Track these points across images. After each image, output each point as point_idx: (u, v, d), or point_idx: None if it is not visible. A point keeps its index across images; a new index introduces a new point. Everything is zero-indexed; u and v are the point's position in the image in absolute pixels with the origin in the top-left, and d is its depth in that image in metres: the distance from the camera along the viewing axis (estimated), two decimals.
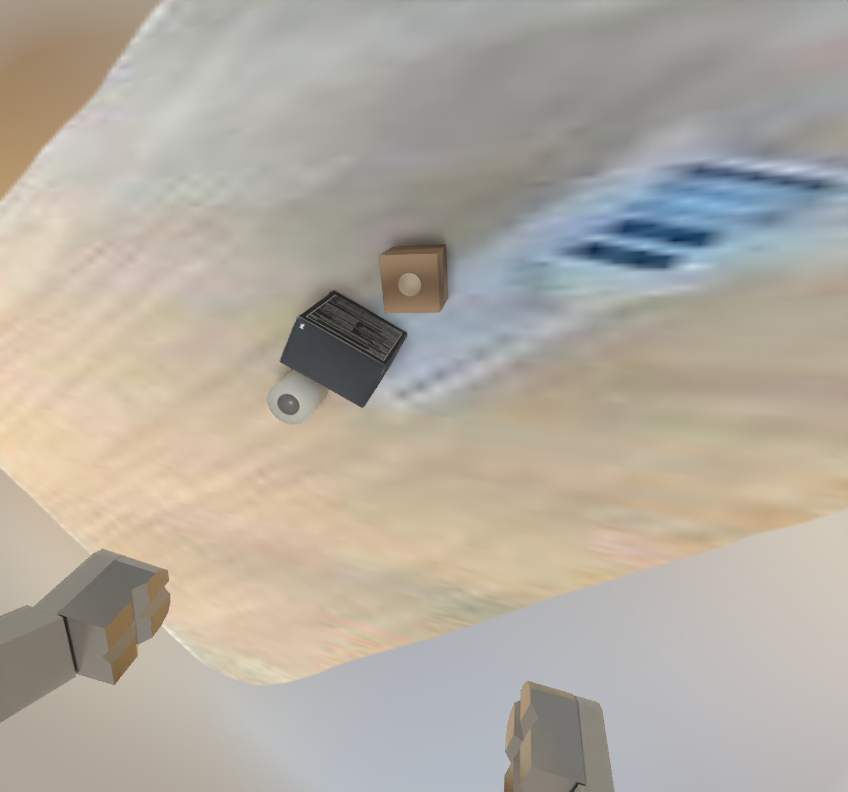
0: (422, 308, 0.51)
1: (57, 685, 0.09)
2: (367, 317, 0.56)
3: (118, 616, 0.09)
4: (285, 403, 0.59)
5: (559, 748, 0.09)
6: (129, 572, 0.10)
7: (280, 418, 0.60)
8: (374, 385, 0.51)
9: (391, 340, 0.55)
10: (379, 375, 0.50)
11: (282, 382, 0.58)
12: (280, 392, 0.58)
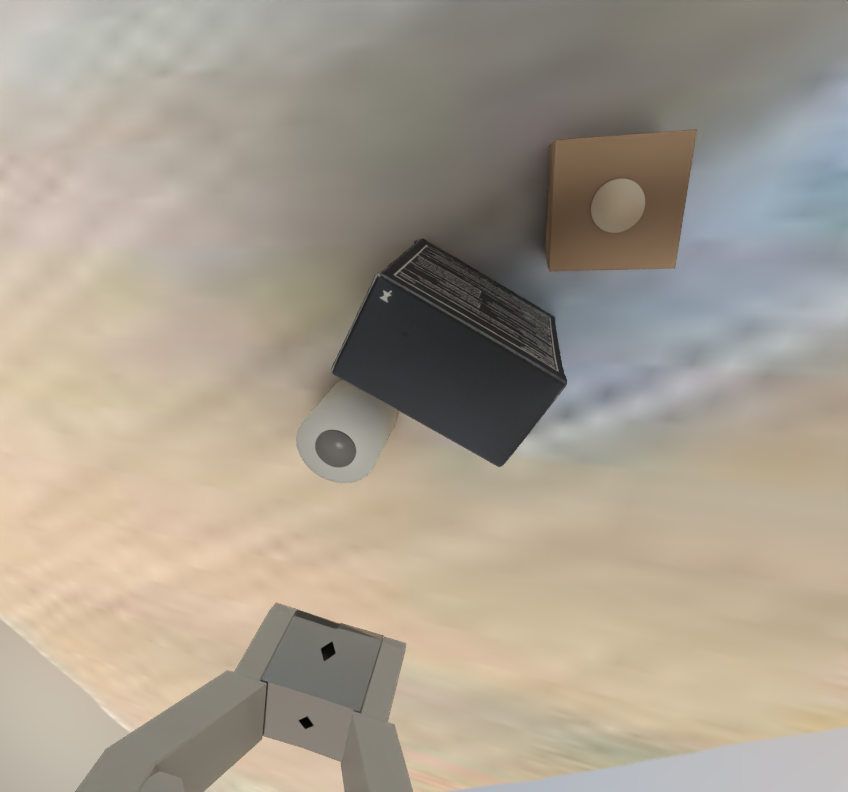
0: (636, 260, 0.24)
1: (248, 749, 0.09)
2: (489, 286, 0.30)
3: (315, 679, 0.09)
4: (330, 447, 0.32)
5: (346, 680, 0.09)
6: (312, 629, 0.10)
7: (319, 472, 0.33)
8: (534, 423, 0.24)
9: (544, 330, 0.28)
10: (549, 403, 0.23)
11: (325, 408, 0.31)
12: (322, 427, 0.32)
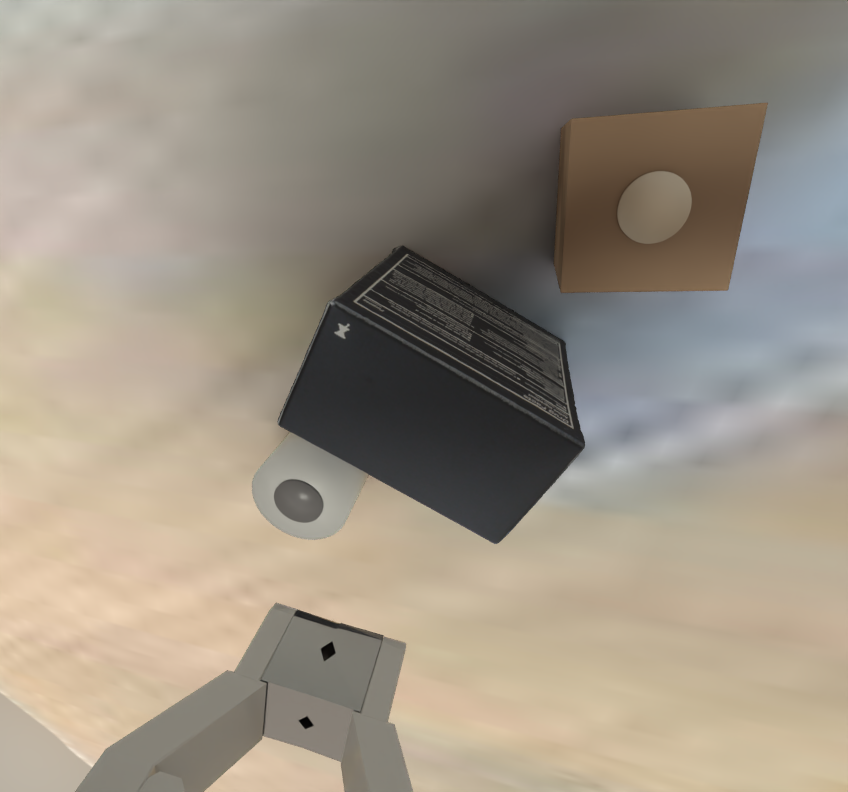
0: (676, 279, 0.18)
1: (248, 749, 0.09)
2: (485, 306, 0.24)
3: (315, 679, 0.09)
4: (292, 499, 0.26)
5: (346, 680, 0.09)
6: (312, 629, 0.10)
7: (281, 527, 0.28)
8: (540, 494, 0.18)
9: (553, 364, 0.22)
10: (561, 470, 0.18)
11: (285, 454, 0.26)
12: (281, 476, 0.26)
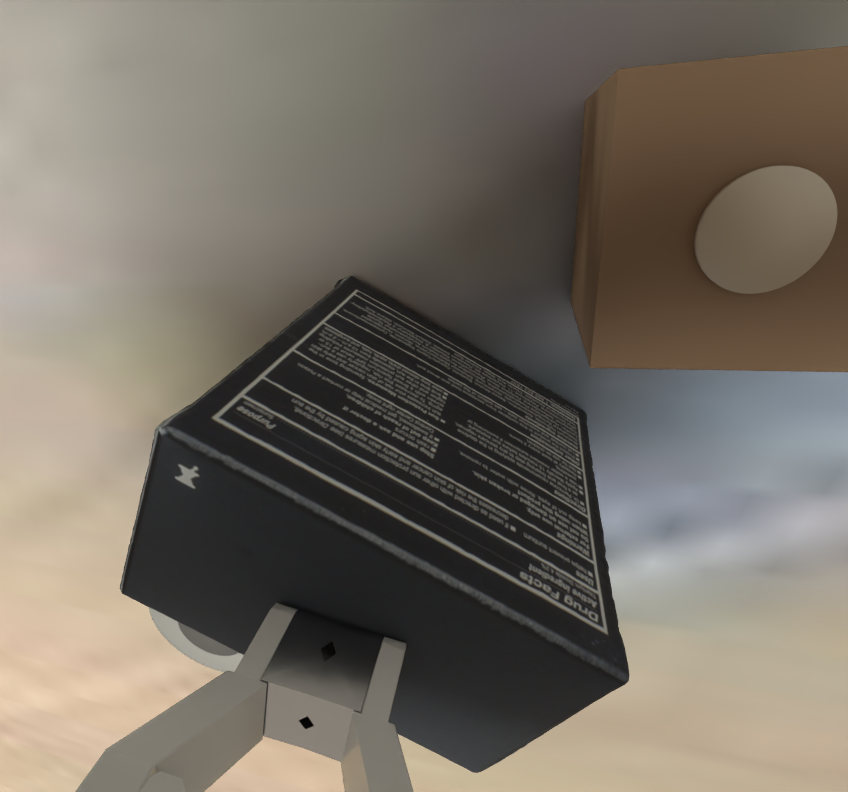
0: (791, 352, 0.11)
1: (249, 749, 0.09)
2: (469, 369, 0.16)
3: (315, 679, 0.09)
4: None
5: (346, 680, 0.09)
6: (312, 629, 0.10)
7: (193, 656, 0.20)
8: (548, 728, 0.11)
9: (570, 467, 0.14)
10: (585, 705, 0.10)
11: None
12: None
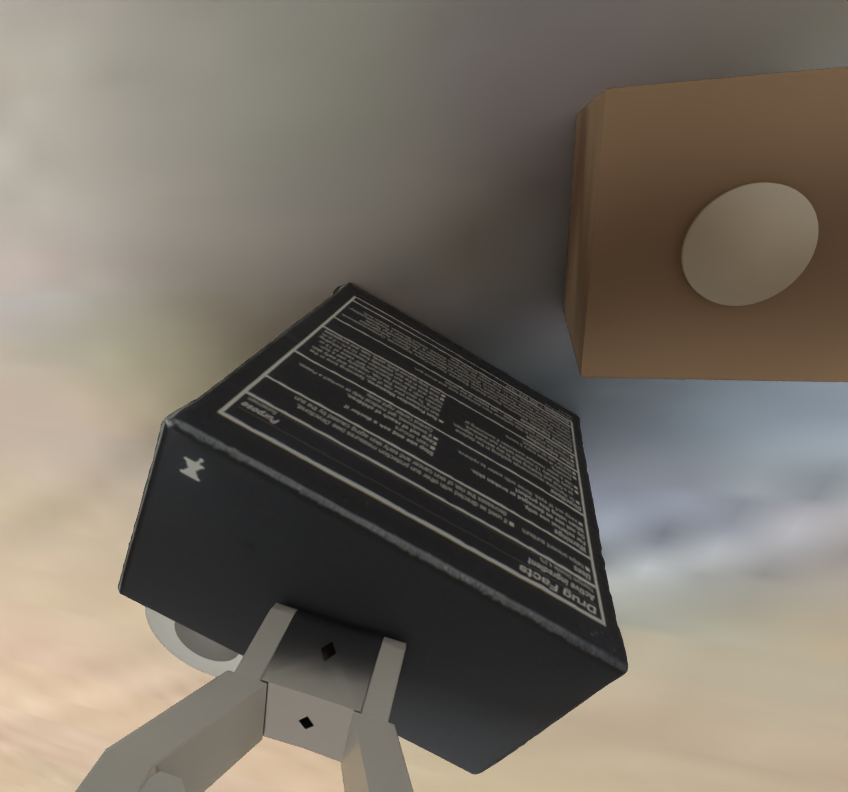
0: (776, 362, 0.11)
1: (248, 749, 0.09)
2: (465, 373, 0.16)
3: (315, 679, 0.09)
4: None
5: (346, 680, 0.09)
6: (312, 629, 0.10)
7: (190, 662, 0.20)
8: (548, 724, 0.11)
9: (565, 468, 0.15)
10: (584, 698, 0.10)
11: None
12: None
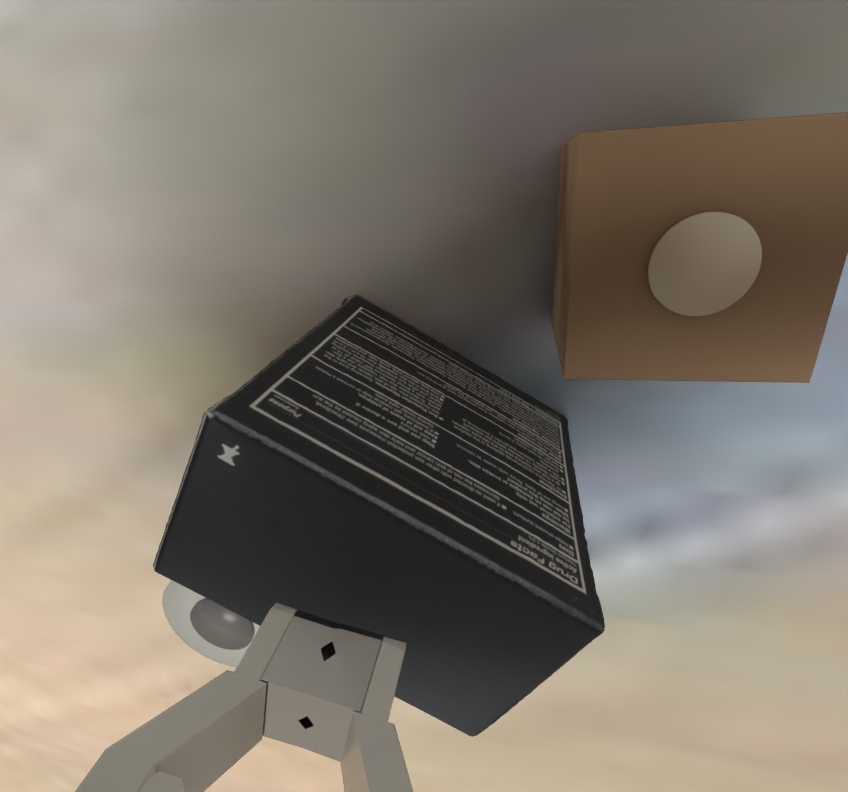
0: (732, 365, 0.12)
1: (248, 749, 0.09)
2: (462, 377, 0.18)
3: (315, 679, 0.09)
4: (213, 622, 0.20)
5: (346, 680, 0.09)
6: (312, 629, 0.10)
7: (203, 651, 0.21)
8: (536, 684, 0.12)
9: (553, 462, 0.16)
10: (568, 658, 0.12)
11: None
12: None
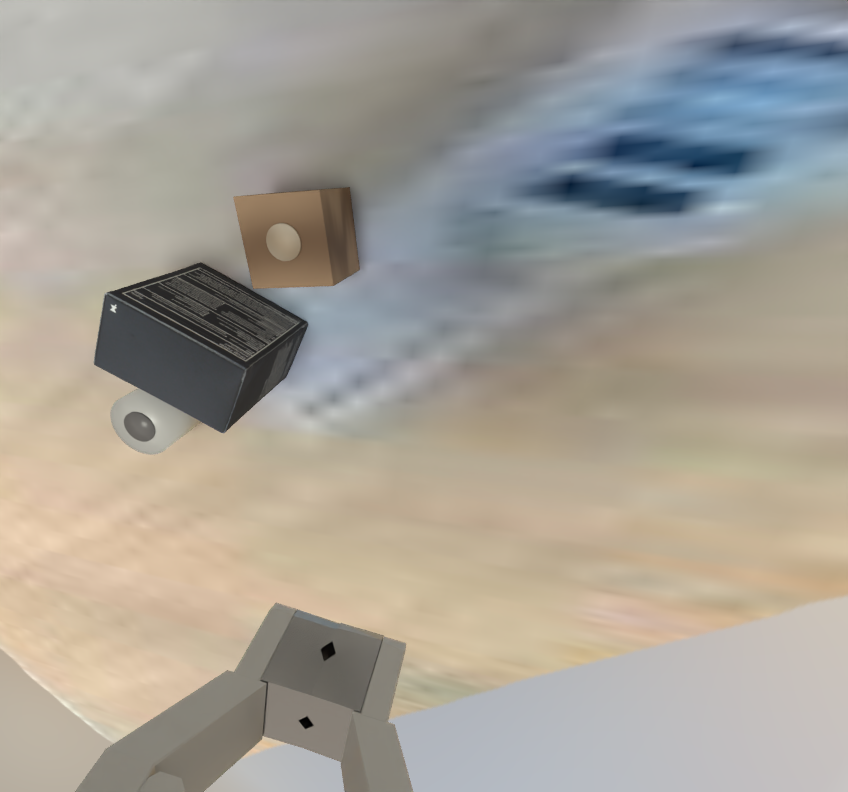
0: (307, 280, 0.33)
1: (248, 749, 0.09)
2: (244, 299, 0.39)
3: (315, 679, 0.09)
4: (135, 425, 0.41)
5: (346, 680, 0.09)
6: (312, 629, 0.10)
7: (132, 446, 0.42)
8: (234, 399, 0.33)
9: (274, 332, 0.37)
10: (239, 384, 0.32)
11: (128, 395, 0.40)
12: (127, 409, 0.41)
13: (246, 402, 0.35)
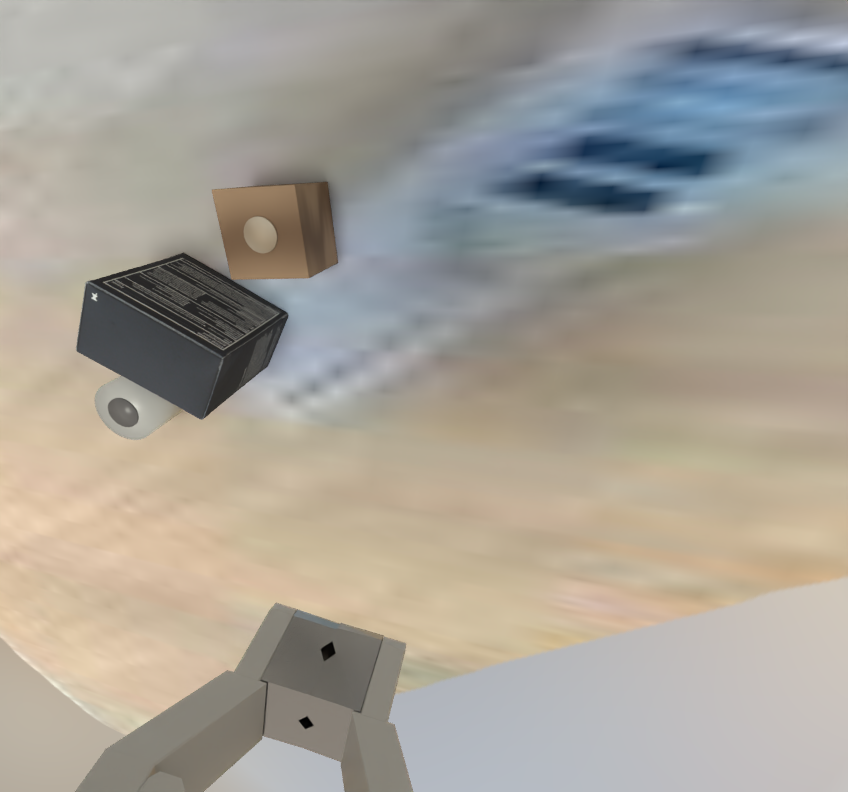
0: (283, 272, 0.34)
1: (248, 749, 0.09)
2: (225, 289, 0.40)
3: (315, 679, 0.09)
4: (118, 411, 0.42)
5: (346, 680, 0.09)
6: (312, 629, 0.10)
7: (116, 431, 0.43)
8: (212, 387, 0.34)
9: (253, 322, 0.38)
10: (216, 372, 0.33)
11: (112, 381, 0.41)
12: (111, 395, 0.42)
13: (225, 390, 0.37)
